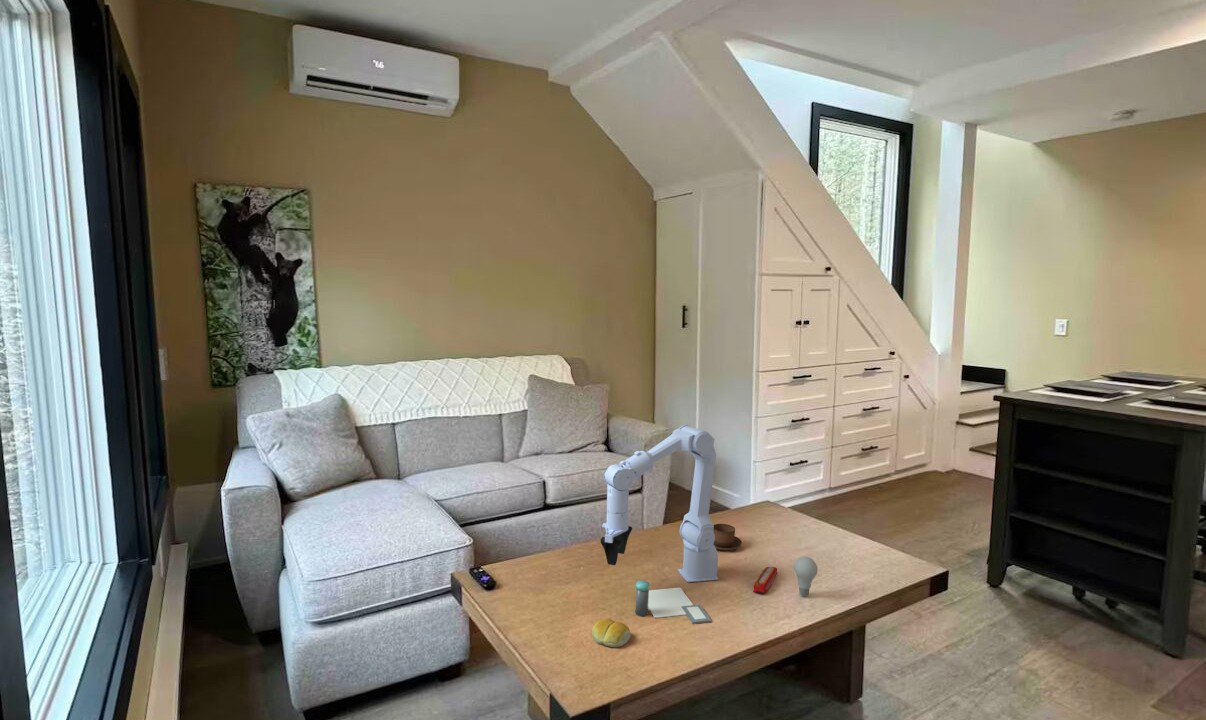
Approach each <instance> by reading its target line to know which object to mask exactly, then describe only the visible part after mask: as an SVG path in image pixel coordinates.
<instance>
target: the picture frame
mask: <svg viewBox="0 0 1206 720" xmlns="http://www.w3.org/2000/svg"><path fill="white" fill-rule="evenodd" d="M682 609H683V610H684V612H685V613H686V615H685V616H687V619H688V620H689V621H690V622H691V624H693V625H695V624H696V625H698V624H705V623H706V624H707V623H712V622H713V621H712V619H711V618H710V616H709V615H708V613H707V612H706V611H705V610H704V608H703V607H702V606H701V605H700V604H693V605H690V606H682Z"/></svg>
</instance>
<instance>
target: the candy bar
mask: <svg viewBox="0 0 1206 720" xmlns="http://www.w3.org/2000/svg"><path fill="white" fill-rule="evenodd" d="M777 575H778V568H777V566H767V567H765V568H764V569H763V570H762V571H761V573H760V575H759V576H758V578H757V579H756V581H754V584H753V586H752V588H753V591H752V592H753V593H755V592H756V594H760V593H766V592H767V591H768V589H769V588H770V586H771V585H772V583H773V581H774V580H775V579H776V577H777Z"/></svg>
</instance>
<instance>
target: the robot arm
mask: <svg viewBox="0 0 1206 720" xmlns="http://www.w3.org/2000/svg"><path fill="white" fill-rule="evenodd" d="M714 445H715V438H714V437H713V436H712V435H711V434H710V433H709V432H708V431H705V430H701V429H699V428H695V427H693V426H691V425H689V424H683V425H681V426H680V427H679V428H675V429H674V430H673V432H672V433H671V435H669V436H668V437H666V438H664V439H663V440H662V441H660V442H659V443H658V444H656V445H654V446H653V447H652V448H650V449H649V450H648V451H645V450H640V451H639V450H636V451H634V452H633V453H634V454H633V455H632V456H629V457H628V458H627V459H624V460H621V461H619V464H617V463H616V464H611V465H610V466H608V467H607V469H605V472H604V474H603V481H604V482H605V484H606V489H607V490H606V522H603V524H601V527H602V528H603V529H605V535H604V536H602V537H601V538H600V544H601V545H602V548H603V550H604V553H605V558H606V562H607V565H611V566H616V564H617V562H618V557H619V555H618V554H621V555H624V554H625V552H626V548H627V544H628V540H629V537H630V535H631V533H632V531H633V527H632V526H631V525H629V496H630V495H629V491H630V490H629V489H630V488H631V487H632V485H633V483H634V481H636V479H638V478H640V477H641V476H643V475H645V474H646V473H647V472H649V471H651V470H652V469H653V467H654V464H655V463H656V462H658V461H660V460H662V459H663V458H666V457H667V456H670V455H671V454H672V453H674V452H677V451H682V452H683V451H684V452H689V453H690V454H691V455H692V456H693V457H694V459H695V466H694V473H693V480H692V488H691V489H692V490H691V497H690V503H689V504H690V505H689V506H690V507H689V511H688V513H686V514H684V515H683V521H682V523H681V524H680V527H679V535H680V537H681V538H682V543H683V558H682V559H683V562H682V563H683V564H682V568H678V569H677V571H678V573H679V574H680V575H681V576H682V578H683V579H684V581H685V582H686V583H692V582H693V583H695V582H706V581H707V582H709V581H717V580H718V579H719V578H718V561H719V559H718V558H719V555H718V551H717V550H718V549H716V548H715V546H714V545H713V544H714V541H715V535H714V531H713V529H714V525H715V524H714V523H713V521H712V519H711V517H710V515H709V514H710V509H711V508H710V506H711V500H712V499H711V498H712V492H713V484H714V483H713V482H714V477H715V475H714V474H715V467H716V459H717V454H716V450H715V446H714Z"/></svg>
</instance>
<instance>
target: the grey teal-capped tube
mask: <svg viewBox="0 0 1206 720" xmlns="http://www.w3.org/2000/svg"><path fill="white" fill-rule="evenodd" d="M649 590H650V582H649V581H647V580H640V579H639V580H637V581H636V582H635V614H636V616H638V617H646V616H648V615H649V608H648V598H649Z"/></svg>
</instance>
